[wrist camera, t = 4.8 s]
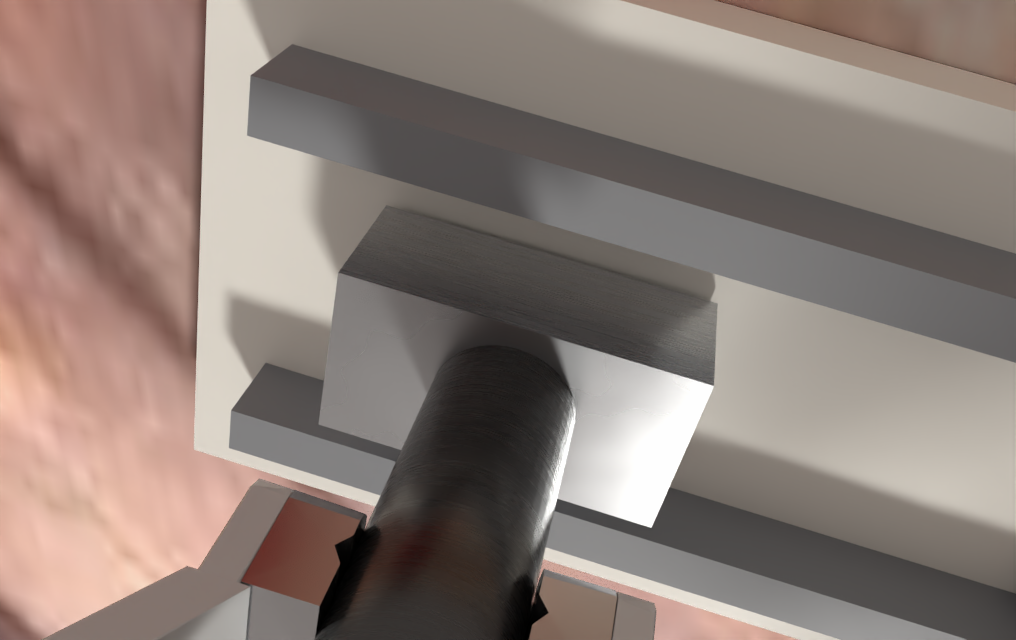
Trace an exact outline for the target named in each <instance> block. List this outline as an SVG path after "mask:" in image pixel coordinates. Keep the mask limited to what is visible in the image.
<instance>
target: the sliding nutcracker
mask: <svg viewBox="0 0 1016 640" xmlns="http://www.w3.org/2000/svg"><path fill="white" fill-rule="evenodd" d="M386 205H387V206H391V207H394V208H397V209H401V210H404V211H408V212H411V213H414V214H418V215H421V216H424V217H428V218H431V219H434V220H438V221H441V222H445V223H448V224H451V225H455V226H458V227H461V228H465V229H468V230H471V231H475V232H478V233H482V234H485V235H488V236H492V237H495V238H498V239H502V240H505V241H509V242H512V243H515V244H519V245H522V246H525V247H529V248H532V249H535V250H539V251H542V252H546V253H549V254H552V255H556V256H559V257H562V258H566V259H569V260H572V261H576V262H579V263H583V264H586V265H589V266H593V267H596V268H599V269H603V270H606V271H610V272H613V273H616V274H620V275H623V276H626V277H630V278H633V279H636V280H640V281H643V282H647V283H650V284H653V285H657V286H660V287H663V288H667V289H670V290H673V291H677V292H680V293H684V294H687V295H690V296H694V297H697V298H700V299H704V300H707V301H711V302H714V303H717V304H718V305H717V328H716V352H715V376H714V387H713V390H712V392H711V394H710V396H709V399H708V401H707V403H706V405H705V408H704V410H703V412H702V414H701V417H700V419H699V421H698V424H697V426H696V428H695V430H694V433H693V435H692V437H691V439H690V442H689V444H688V446H687V448H686V451H685V453H684V455H683V457H682V460H681V462H680V464H679V467H678V469H677V471H676V473H675V476H674V478H673V480H672V482H671V485H670V487H669V489H668V491H667V494H666V496H665V498H664V500H663V503H662V505H661V507H660V509H659V512H658V514H657V516H656V519H655V521H654V523H653V525H652V528H650V527H647V526H644V525H641V524H637V523H634V522H631V521H628V520H625V519H621V518H618V517H615V516H612V515H608V514H605V513H602V512H599V511H596V510H592V509H589V508H586V507H583V506H579V505H576V504H573V503H570V502H567V501H563V500H560V499H557V501H556V505H555V510H554V514H553V518H552V522H551V527H550V531H549V535H548V540H547V544H546V548H545V552H544V557H543V559H544V560H547V561H550V562H554V563H557V564H560V565H563V566H566V567H570V568H573V569H576V570H579V571H582V572H585V573H589V574H592V575H595V576H598V577H601V578H605V579H608V580H611V581H614V582H617V583H621V584H624V585H627V586H630V587H633V588H636V589H640V590H643V591H646V592H649V593H652V594H656V595H659V596H662V597H665V598H668V599H671V600H675V601H678V602H681V603H684V604H687V605H691V606H694V607H697V608H700V609H703V610H706V611H710V612H713V613H716V614H719V615H722V616H726V617H729V618H732V619H735V620H738V621H742V622H745V623H748V624H751V625H754V626H757V627H761V628H764V629H767V630H770V631H773V632H777V633H780V634H783V635H786V636H789V637H792V638H796V639H799V640H1016V85H1015V84H1011V83H1008V82H1004V81H1001V80H997V79H994V78H990V77H986V76H983V75H979V74H976V73H972V72H969V71H965V70H962V69H958V68H954V67H951V66H947V65H944V64H940V63H937V62H933V61H929V60H926V59H922V58H919V57H915V56H912V55H908V54H904V53H901V52H897V51H894V50H890V49H887V48H883V47H880V46H876V45H872V44H869V43H865V42H862V41H858V40H855V39H851V38H847V37H844V36H840V35H837V34H833V33H830V32H826V31H822V30H819V29H815V28H812V27H808V26H805V25H801V24H798V23H794V22H790V21H787V20H783V19H780V18H776V17H773V16H769V15H765V14H762V13H758V12H755V11H751V10H748V9H744V8H740V7H737V6H733V5H730V4H726V3H723V2H719V1H716V0H207V10H206V45H205V79H204V114H203V149H202V183H201V218H200V253H199V287H198V322H197V357H196V391H195V426H194V450H197V451H200V452H203V453H207V454H210V455H213V456H216V457H219V458H222V459H226V460H229V461H232V462H235V463H238V464H242V465H245V466H248V467H251V468H254V469H258V470H261V471H264V472H267V473H270V474H273V475H277V476H280V477H283V478H286V479H289V480H293V481H296V482H299V483H302V484H305V485H308V486H312V487H315V488H318V489H321V490H324V491H328V492H331V493H334V494H337V495H340V496H343V497H347V498H350V499H353V500H356V501H359V502H363V503H366V504H369V505H372V506H376V504H377V502H378V500H379V498H380V495H381V493H382V491H383V489H384V487H385V485H386V482H387V480H388V478H389V476H390V474H391V471H392V469H393V467H394V465H395V463H396V461H397V458H398V456H399V454H400V452H401V450H399V449H396V448H393V447H389V446H386V445H383V444H380V443H377V442H373V441H370V440H367V439H364V438H360V437H357V436H354V435H351V434H348V433H344V432H341V431H338V430H335V429H331V428H328V427H325V426H322V425H319V424H318V423H319V416H320V408H321V400H322V393H323V385H324V377H325V370H326V362H327V354H328V347H329V339H330V331H331V324H332V316H333V309H334V301H335V293H336V286H337V278H338V272H339V271H340V269H341V268H342V267H343V265H344V264H345V262H346V261H347V260H348V258H349V257H350V255H351V254H352V253H353V251H354V250H355V248H356V247H357V246H358V244H359V243H360V241H361V240H362V239H363V237H364V236H365V234H366V233H367V232H368V230H369V229H370V227H371V226H372V225H373V223H374V222H375V220H376V219H377V218H378V216H379V215H380V213H381V212H382V211H383V209H384V208H385V206H386Z"/></svg>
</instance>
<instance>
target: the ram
mask: <svg viewBox="0 0 1016 640" xmlns="http://www.w3.org/2000/svg"><path fill="white" fill-rule="evenodd" d="M717 305H718V304H717V303H714V302H711V301H707V300H704V299H700V298H697V297H694V296H690V295H687V294H684V293H680V292H677V291H673V290H670V289H667V288H663V287H660V286H657V285H653V284H650V283H647V282H643V281H640V280H636V279H633V278H630V277H626V276H623V275H620V274H616V273H613V272H610V271H606V270H603V269H599V268H596V267H593V266H589V265H586V264H583V263H579V262H576V261H572V260H569V259H566V258H562V257H559V256H556V255H552V254H549V253H546V252H542V251H539V250H535V249H532V248H529V247H525V246H522V245H519V244H515V243H512V242H509V241H505V240H502V239H498V238H495V237H492V236H488V235H485V234H482V233H478V232H475V231H471V230H468V229H465V228H461V227H458V226H455V225H451V224H448V223H445V222H441V221H438V220H434V219H431V218H428V217H424V216H421V215H418V214H414V213H411V212H408V211H404V210H401V209H397V208H394V207H391V206H387V205H386V206H385V208H384V209H383V211H382V212H381V213H380V215H379V216H378V218H377V219H376V220H375V222H374V223H373V225H372V226H371V227H370V229H369V230H368V232H367V233H366V234H365V236H364V237H363V239H362V240H361V241H360V243H359V244H358V246H357V247H356V248H355V250H354V251H353V253H352V254H351V255H350V257H349V258H348V260H347V261H346V262H345V264H344V265H343V267H342V268H341V269H340V271H339V272H338V278H337V286H336V293H335V301H334V309H333V316H332V324H331V331H330V339H329V347H328V354H327V362H326V370H325V377H324V385H323V393H322V400H321V408H320V416H319V423H318V424H319V425H322V426H325V427H328V428H331V429H335V430H338V431H341V432H344V433H348V434H351V435H354V436H357V437H360V438H364V439H367V440H370V441H373V442H377V443H380V444H383V445H386V446H389V447H393V448H396V449H399V450H401V452H400V454H399V456H398V458H397V461H396V463H395V465H394V467H393V469H392V471H391V474H390V476H389V478H388V480H387V482H386V485H385V487H384V489H383V491H382V493H381V495H380V498H379V500H378V502H377V504H376V506H375V509H374V511H373V513H372V515H371V517H370V519H369V522H368V524H367V526H366V528H365V531H364V533H363V535H362V537H361V540H360V542H359V544H358V546H357V548H356V551H355V553H354V555H353V557H352V559H351V562H350V564H349V566H348V568H347V570H346V572H345V574H344V576H343V578H342V580H341V583H340V585H339V587H338V589H337V591H336V594H335V596H334V599H333V601H332V603H331V605H330V607H329V609H328V612H327V614H326V616H325V618H324V620H323V623H322V625H321V627H320V629H319V631H318V633H317V636H316V638H315V640H524V638H525V634H526V629H527V625H528V621H529V616H530V612H531V608H532V604H533V599H534V595H535V591H536V587H537V582H538V578H539V574H540V569H541V565H542V561H543V557H544V552H545V548H546V544H547V540H548V535H549V531H550V527H551V522H552V518H553V514H554V510H555V505H556V501H557V499H560V500H563V501H567V502H570V503H573V504H576V505H579V506H583V507H586V508H589V509H592V510H596V511H599V512H602V513H605V514H608V515H612V516H615V517H618V518H621V519H625V520H628V521H631V522H634V523H637V524H641V525H644V526H647V527H650V528H652V525H653V523H654V521H655V519H656V516H657V514H658V512H659V509H660V507H661V505H662V503H663V500H664V498H665V496H666V494H667V491H668V489H669V487H670V485H671V482H672V480H673V478H674V476H675V473H676V471H677V469H678V467H679V464H680V462H681V460H682V457H683V455H684V453H685V451H686V448H687V446H688V444H689V442H690V439H691V437H692V435H693V433H694V430H695V428H696V426H697V424H698V421H699V419H700V417H701V414H702V412H703V410H704V408H705V405H706V403H707V401H708V399H709V396H710V394H711V392H712V390H713V387H714V376H715V352H716V328H717Z"/></svg>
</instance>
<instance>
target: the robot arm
mask: <svg viewBox="0 0 1016 640" xmlns="http://www.w3.org/2000/svg"><path fill="white" fill-rule="evenodd" d="M366 518H367V516H366V515H365V514H364V513H361V512H358V511H355V510H352V509H349V508H346V507H343V506H340V505H337V504H334V503H331V502H329V501H326V500H323V499H320V498H317V497H314V496H311V495H308V494H305V493H302V492H299V491H297V490H292V489H289V488H286V487H283V486H280V485H277V484H274V483H271V482H268V481H265V480H262V479H258V480H257V481H256V482H255V483H254V484H253V485H252V486H250V488H249V490H248V491H247V493H246V494H245V496H244V497H243V499H242V501H241V502H240V504H239V505H238V507H237V508H236V510H235V512H234V513H233V515H232V516H231V518H230V519H229V521H228V523H227V524H226V526H225V527H224V529H223V531H222V532H221V534H220V535H219V537H218V538H217V540H216V542H215V543H214V545H213V546H212V548H211V549H210V551H209V553H208V554H207V556H206V557H205V559H204V560H203V562H202V564H201V565H200V567H199V568H198V569H195V568H192V567H188V566H187V567H185V568H183V569H181V570H179V571H177V572H175V573H173V574H171V575H169V576H167V577H165V578H163V579H161V580H159V581H157V582H155V583H153V584H151V585H149V586H147V587H145V588H143V589H141V590H139V591H137V592H135V593H133V594H131V595H129V596H127V597H125V598H123V599H121V600H119V601H117V602H115V603H113V604H111V605H109V606H107V607H105V608H103V609H101V610H99V611H97V612H95V613H93V614H91V615H89V616H87V617H86V618H84V619H82V620H80V621H78V622H76V623H74V624H72V625H70V626H68V627H66V628H64V629H62V630H60V631H58V632H56V633H54V634H52V635H50V636H48V637H46V638H44V639H42V640H315V638H316V636H317V633H318V631H319V629H320V627H321V625H322V623H323V620H324V618H325V616H326V614H327V612H328V609H329V607H330V605H331V603H332V601H333V599H334V596H335V594H336V591H337V589H338V587H339V585H340V583H341V580H342V578H343V576H344V574H345V572H346V570H347V568H348V566H349V564H350V562H351V559H352V557H353V555H354V553H355V551H356V548H357V546H358V544H359V542H360V540H361V537H362V535H363V533H364V531H365V525H366ZM655 621H656V608H655V605H654V603H652V602H649V601H645V600H642V599H639V598H636V597H633V596H629V595H626V594H623V593H620V592H617V593H616V591H615V590H612V589H608V588H605V587H602V586H598V585H595V584H592V583H588V582H585V581H582V580H578V579H575V578H572V577H568V576H565V575H562V574H559V573H555V572H552V571H549V570H545V569H544V570H543V572H542V574H541V577H540V580H539V582H538V585H537V588H536V592H535V596H534V600H533V604H532V608H531V612H530V616H529V621H528V625H527V629H526V634H525V638H524V640H654V631H655Z"/></svg>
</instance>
